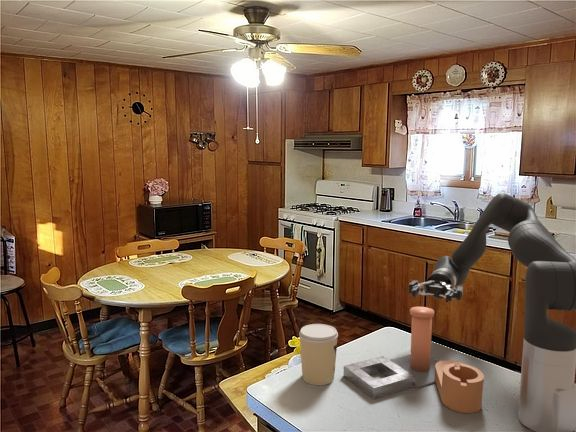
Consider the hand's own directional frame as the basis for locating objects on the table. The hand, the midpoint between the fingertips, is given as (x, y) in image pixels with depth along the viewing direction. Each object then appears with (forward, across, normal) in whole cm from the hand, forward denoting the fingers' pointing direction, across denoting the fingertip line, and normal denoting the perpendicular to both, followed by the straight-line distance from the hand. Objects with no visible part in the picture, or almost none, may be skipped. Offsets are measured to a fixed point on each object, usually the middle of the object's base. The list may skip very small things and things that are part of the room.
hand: (430, 296), depth 122 cm
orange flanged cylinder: (+10, 0, +16) cm, 19 cm away
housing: (+21, -7, +16) cm, 28 cm away
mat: (+10, 0, +16) cm, 19 cm away
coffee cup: (+26, -21, +17) cm, 37 cm away
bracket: (+17, +10, +16) cm, 26 cm away
